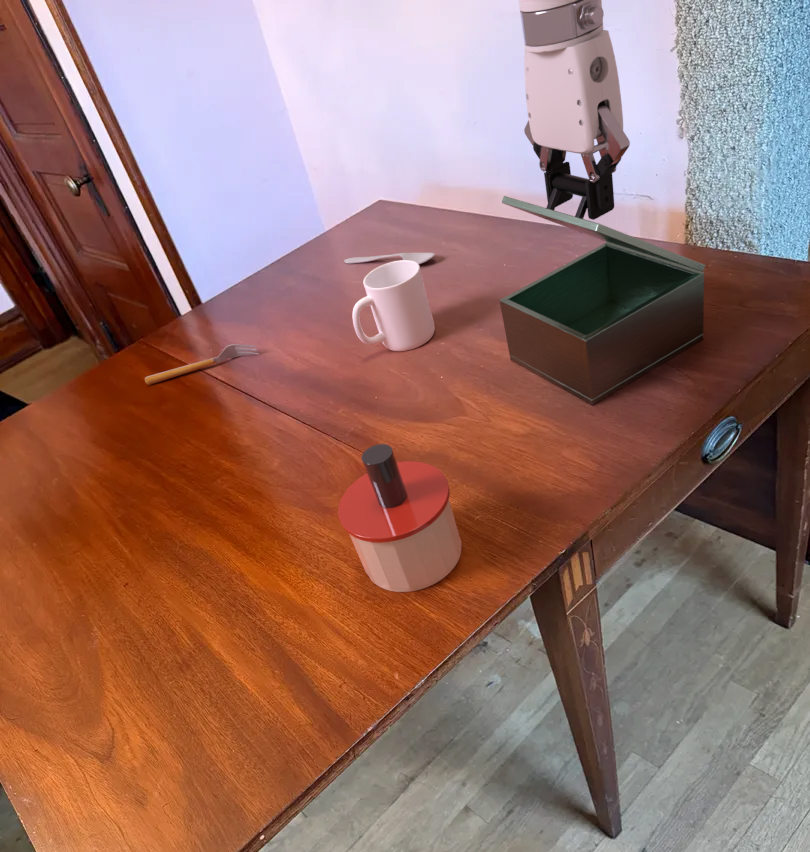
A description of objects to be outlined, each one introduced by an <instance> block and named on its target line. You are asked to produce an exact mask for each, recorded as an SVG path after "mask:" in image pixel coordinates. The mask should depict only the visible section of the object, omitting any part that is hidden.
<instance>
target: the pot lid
mask: <svg viewBox="0 0 810 852" xmlns="http://www.w3.org/2000/svg"><path fill="white" fill-rule="evenodd" d="M361 462H362V464H363V467H364V470H365V472H366V473H364V474H363V475H362V476H360V477H358V479H356V480H355V481H354V482H353V483H352V484H351V485H350V486H349V487H348V488H347V489H346V490H345V491H344V493H343V495H342V497H341V499H340V501H339V503H338V509H337V513H338V514H337V515H338V519H339V522H340V524H341V526H342V528H343V529H344V531H345V532H346V533H347V534H348V535H349V534H350V535H351V536H353V537H355V538H357V539H359V540H363V541H366V542H375V543H382V542H391V541H397V540H400V539H404V538H407V537H410V536H412V535H414V534H416V533H418V532H420V531H422V530H423V529H425V528H426V527H428V526H429V525H431V524H432V523H433V522H434V521H435V520H436V519H437V518H438V517H439V516H440V515H441V514H442V512H443V511H444V509H445V507H446V506H447V503H448V500H449V501H450V495H451V491H450V485H449V481H448V479H447V477H446V476H445V474H444V472H442V471H441V470H440V469H439V468H437V467H436V466H434V465H432V464H430V463H427V462H422V461H414V460H411V461H410V460H409V461H407V460H405V461H397V459H396V456H395V453H394V451H393V448H392V446H390V445H389V444H385V443H379V444H375V445H372V446H369V447H368V448H366V449H365V450H364V451H363V452H362V454H361ZM350 535H349V536H350Z"/></svg>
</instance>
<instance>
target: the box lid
mask: <svg viewBox="0 0 810 852" xmlns="http://www.w3.org/2000/svg"><path fill="white" fill-rule="evenodd" d="M587 181H589V178H586V177H583V176H578V175H573V174H571V175H570V174H565V173H561V172H558V173H556V174H555V175H554V176H553V178H552V181H551V185H552V187H553V191H552V194H551V196H550V199H549V202H548V201H547V205H546V207H544V206H540V205H537V204H534V203H530V202H527V201H523V200H520V199H516V198H513V197H509V196H507V195H503V198H502V199H501V203H502V204H504V205H506V206H509V207H512V208H514V209H517V210H519V211H523V212H525V213H528V214H530V215H533V216H536V217H539V218H540V219H544V220H546V221H549V222H552V223H555V224H557V225H559V226H563V227H565V228H568V229H571V230H573V231H576V232H578V233H581V234H583V235H586V236H589V237H592V238H595V239H598V240H600V241H604V243H606V242H609V243H612V244H615V245H618V246H621V247H624V248H628V249H631V250H634V251H637V252H640V253H643V254H647V255H650V256H653V257H656V258H659V259H662V260H666V261H669V262H672V263H675V264H678V265H681V266H685V267H688V268H691V269H694V270H697V271H700V272H703V273H704V270H705V268H706V267H707V265H706V264H704V263H701V262H699V261H696V260H693V259H691V258H688V257H686V256H683V255H681V254H678V253H676V252H673V251H670V250H668V249H665V248H663V247H660V246H658V245H655V244H652V243H650V242H648V241H645V240H642V239H639V238H637V237H635V236H632V235H630V234H627V233H624V232H621V231H619V230H616V229H614V228H611V227H609V226H607V225H604V224H601V223H599V222H594V221H591V220H589V219H584V217H585V215H586V212H587V211H588V210H587V199H586V188H585V182H587ZM561 191H562V192H566V193H570V194H573V196H578V197H581V199H580V201H579V204H578V207H577V210H576V213H575V214H574V215H572V214H568V213H565V212H561V211H559V210H558V211H557V210H555V209H556V208H557V207H556V204H557V201H558V199H559V196H560V193H561Z"/></svg>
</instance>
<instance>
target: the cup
mask: <svg viewBox="0 0 810 852" xmlns="http://www.w3.org/2000/svg"><path fill="white" fill-rule="evenodd" d="M362 283H363V287H364V290H365V293H366V296H364V297H362V298H360V299H359V300H358V301H357V302H356V303H355V304H354V306H353V308H352V315H351V316H352V324H353V329H354V332H355V334H356V336H357V337H358V339H359V340H360V342H362V343H363V344H364V345H367V346H375V345H378V344H381V343H382V345H383V346H384V347H385V348H386V349H387V350H390V351H393V352H406V351H411V350H414V349H417V348H419V347H422V346H423V345H425V344H426V343H427V342H429V341H430V340H431V339H432V337H433V336H434V334H435V331H436V330H435V329H436V327H435V321H434V318H433V317H434V316H433V314H432V309H431V306H430V301H429V298H428V294H427V289H426V285H425V282H424V279H423V275H422V270H421V266H420V264H418V263H417V262H415V261H411V260H403V259H402V260H401V259H399V260H394V261H390V262H386V263H384V264H381V265H380V266H377V267H375V268H374V269H372V270H371V271H369V272H368V273H367V274H366V275H365V276H364V277H363V281H362ZM369 306H370V309H371V313H372V315H373V319H374V321H375V325H376V328H377V332H378V334H375V335H373V336H368V335H366V333H365V331H364V329H363V327H362V323H361V322H362V321H361V312H362V310H363V309H364V308H367V307H369Z"/></svg>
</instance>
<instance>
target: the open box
mask: <svg viewBox="0 0 810 852" xmlns="http://www.w3.org/2000/svg"><path fill="white" fill-rule="evenodd" d="M704 303H705V272H704V271H703V272H700V271H697V270H694V269H691V268H688V267H685V266H681V265H678V264H675V263H672V262H669V261H666V260H662V259H659V258H656V257H653V256H650V255H647V254H643V253H640V252H637V251H634V250H631V249H628V248H624V247H621V246H618V245H615V244H612V243H609V242H604V243H603V244H601V245H599V246H597V247H595V248H592V249H591V250H590V251H587V252H586V253H584V254H582V255H579V257H576V258H575V259H573V260H571V261H569V262H568V263H566V264H563V265H562V266H559V267H558V268H555V269H554V270H552V271H550V272H549V273H547V274H545V275H543V276H542V277H540V278H538V279H536V280H534V281H532V282H531V283H528V284H527V285H525V286H523V287H521V288H519V289H517V290H515V291H514V292H512V293H510V294H508V295H506V296H505V297H502V298H501V299H499V305H500V312H501V317H502V321H503V327H504V328H503V329H504V333H505V338H506V343H507V348H508V349H507V350H508V354H509V359H510V361H512V362H513V363H515V364H517V365H519V366H521V367H523V368H525V369H526V370H528V371H530V372H532V373H533V374H535V375H537V376H539V377H541V378H543V379H544V380H546V381H548V382H549V383H552V384H553V385H555V386H557V387H559V388H560V389H562V390H564V391H566V392H568V393H569V394H571V395H573V396H575V397H576V398H578V399H580V400H581V401H584V402H585V403H587V404H589V405H591V406H595V405H596V404H597V403H599V402H601V401H602V400H604V399H606V398H607V397H609V396H611V395H612V394H614V393H616V392H618V391H620V390H621V389H622V388H624V387H626V386H628V385H629V384H631V383H632V382H634V381H636V380H638V379H639V378H641V377H643V376H645V375H647V374H648V373H649V372H651V371H653V370H654V369H656V368H658V367H660V366H661V365H663V364H664V363H666V362H667V361H670V360H671V359H673V358H674V357H677V356H678V355H680V354H681V353H683V352H684V351H686V350H688V349H689V348H691V347H693V346H695V345H696V344H698V343H699V342H701V341H703V340H704V328H705V327H704V326H705V325H704V324H705V317H704V316H705V315H704V314H705V313H704V312H705V308H704V307H705V304H704Z"/></svg>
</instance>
